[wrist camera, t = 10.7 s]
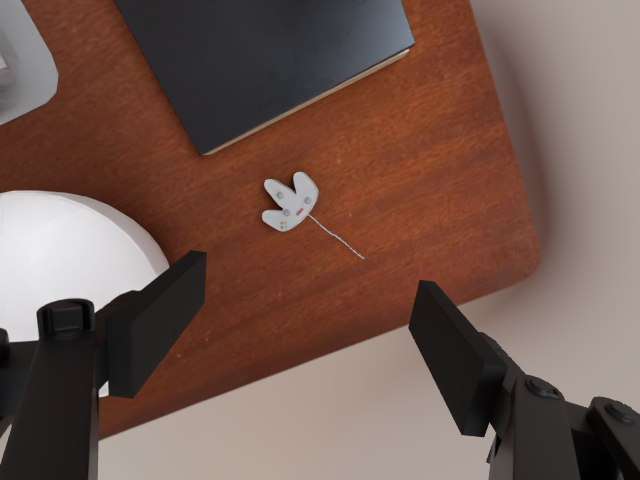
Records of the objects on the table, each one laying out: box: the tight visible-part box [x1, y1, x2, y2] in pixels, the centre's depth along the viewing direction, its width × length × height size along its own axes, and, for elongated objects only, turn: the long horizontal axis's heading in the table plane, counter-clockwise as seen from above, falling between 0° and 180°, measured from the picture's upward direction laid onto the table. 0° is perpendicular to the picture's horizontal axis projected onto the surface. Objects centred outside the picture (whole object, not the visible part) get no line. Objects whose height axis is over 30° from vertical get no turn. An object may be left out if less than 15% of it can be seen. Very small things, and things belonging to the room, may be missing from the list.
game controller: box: [262, 172, 364, 259], centre depth 30 cm, size 6×12×3 cm, turn 68°
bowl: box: [0, 191, 169, 397], centre depth 29 cm, size 18×18×7 cm
